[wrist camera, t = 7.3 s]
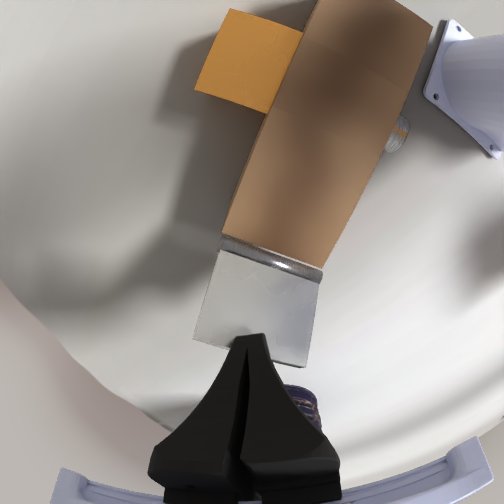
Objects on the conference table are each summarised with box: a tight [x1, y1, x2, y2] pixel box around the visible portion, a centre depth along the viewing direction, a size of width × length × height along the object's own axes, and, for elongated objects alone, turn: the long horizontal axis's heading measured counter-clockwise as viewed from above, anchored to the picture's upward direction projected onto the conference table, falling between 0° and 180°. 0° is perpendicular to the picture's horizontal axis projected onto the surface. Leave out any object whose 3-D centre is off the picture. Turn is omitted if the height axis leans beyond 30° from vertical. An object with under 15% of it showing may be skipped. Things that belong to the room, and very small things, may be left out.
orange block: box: [194, 9, 409, 153], centre depth 14 cm, size 12×5×4 cm, turn 69°
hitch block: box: [222, 0, 433, 269], centre depth 14 cm, size 6×16×5 cm, turn 159°
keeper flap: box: [192, 236, 323, 368], centre depth 14 cm, size 6×6×1 cm
